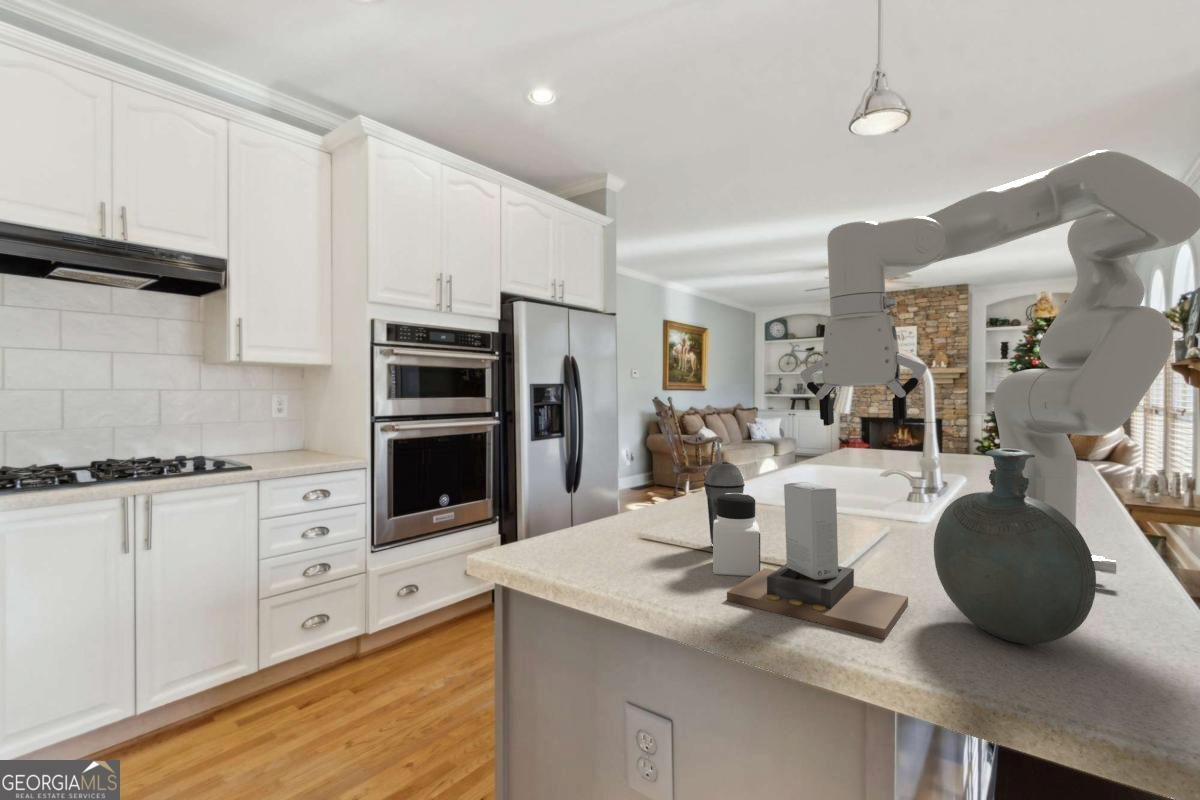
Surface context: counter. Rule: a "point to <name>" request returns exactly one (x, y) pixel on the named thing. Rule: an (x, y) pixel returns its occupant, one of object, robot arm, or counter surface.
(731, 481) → the beverage cup
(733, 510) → the medicine bottle
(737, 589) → the board
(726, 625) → the counter surface
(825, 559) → the skincare box
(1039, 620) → the flask
